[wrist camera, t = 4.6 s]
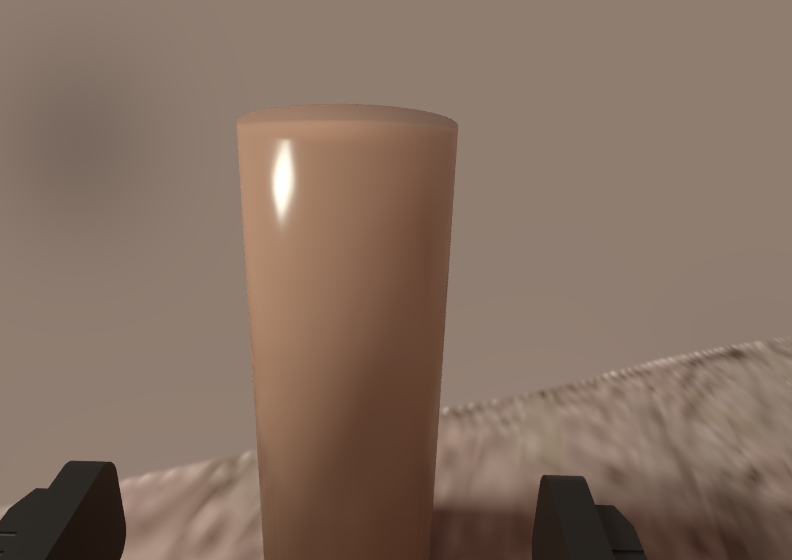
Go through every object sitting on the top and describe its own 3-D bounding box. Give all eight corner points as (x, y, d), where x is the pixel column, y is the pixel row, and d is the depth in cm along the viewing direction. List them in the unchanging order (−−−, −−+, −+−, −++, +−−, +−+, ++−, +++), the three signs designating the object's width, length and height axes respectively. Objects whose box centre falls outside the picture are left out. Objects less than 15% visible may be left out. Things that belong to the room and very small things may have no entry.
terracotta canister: (426, 508, 24) (450, 107, 18) (432, 637, 19) (467, 148, 14) (280, 503, 24) (260, 101, 18) (249, 632, 19) (210, 140, 14)
